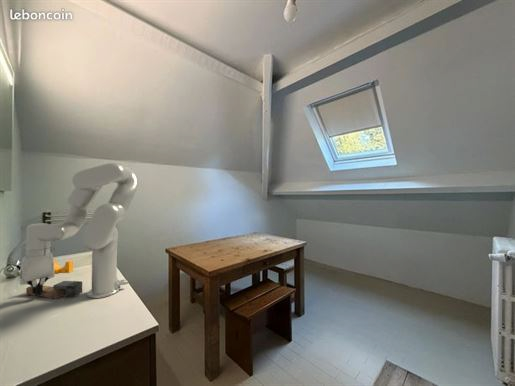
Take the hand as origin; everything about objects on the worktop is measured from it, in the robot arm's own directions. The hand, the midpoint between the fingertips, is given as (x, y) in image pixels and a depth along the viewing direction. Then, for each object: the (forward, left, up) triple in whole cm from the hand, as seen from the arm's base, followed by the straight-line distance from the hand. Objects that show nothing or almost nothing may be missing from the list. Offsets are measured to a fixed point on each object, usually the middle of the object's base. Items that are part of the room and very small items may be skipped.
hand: (37, 294), depth 95 cm
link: (-2, -3, -2) cm, 4 cm away
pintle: (+2, -8, +1) cm, 8 cm away
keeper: (-10, +3, -2) cm, 11 cm away
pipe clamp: (-3, -35, -2) cm, 35 cm away
